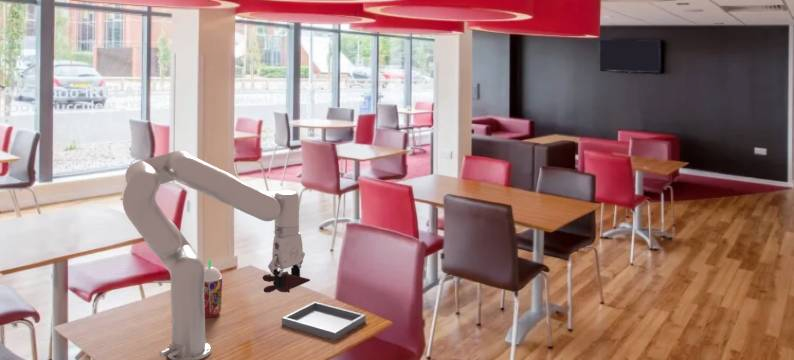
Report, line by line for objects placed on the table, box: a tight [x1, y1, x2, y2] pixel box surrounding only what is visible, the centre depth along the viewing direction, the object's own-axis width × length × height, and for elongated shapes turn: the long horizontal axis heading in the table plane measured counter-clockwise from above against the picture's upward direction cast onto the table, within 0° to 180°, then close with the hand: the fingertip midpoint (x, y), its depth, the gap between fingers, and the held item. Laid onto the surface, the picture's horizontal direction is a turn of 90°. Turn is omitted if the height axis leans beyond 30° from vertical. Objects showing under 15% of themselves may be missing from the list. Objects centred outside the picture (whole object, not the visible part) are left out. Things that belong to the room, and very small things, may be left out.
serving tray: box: [281, 301, 367, 341], centre depth 223 cm, size 18×22×2 cm
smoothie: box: [204, 258, 223, 318], centre depth 226 cm, size 8×8×20 cm
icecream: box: [262, 270, 311, 293], centre depth 209 cm, size 7×7×15 cm
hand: (287, 283), depth 209 cm, fingers closed on icecream, 7 cm apart
